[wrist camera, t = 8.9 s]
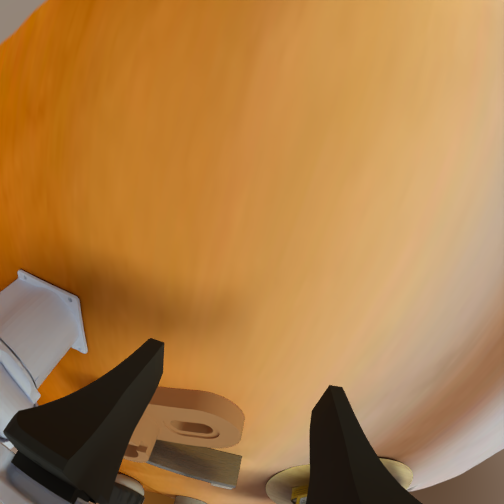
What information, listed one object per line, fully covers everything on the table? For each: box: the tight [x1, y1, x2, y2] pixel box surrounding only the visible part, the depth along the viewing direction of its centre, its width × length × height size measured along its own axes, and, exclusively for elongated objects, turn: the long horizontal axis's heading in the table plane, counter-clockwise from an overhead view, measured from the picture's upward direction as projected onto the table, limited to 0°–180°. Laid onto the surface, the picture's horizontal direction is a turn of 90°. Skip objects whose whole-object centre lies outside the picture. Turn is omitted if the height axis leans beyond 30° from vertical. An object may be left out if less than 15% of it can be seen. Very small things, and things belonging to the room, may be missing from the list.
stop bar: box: [146, 439, 242, 490], centre depth 32 cm, size 17×4×5 cm, turn 77°
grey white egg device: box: [107, 474, 144, 504], centre depth 42 cm, size 10×10×15 cm
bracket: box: [123, 387, 245, 463], centre depth 27 cm, size 18×8×7 cm, turn 99°
